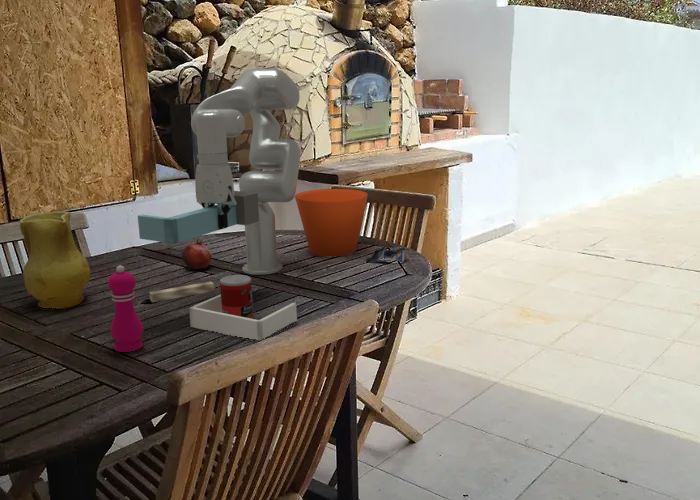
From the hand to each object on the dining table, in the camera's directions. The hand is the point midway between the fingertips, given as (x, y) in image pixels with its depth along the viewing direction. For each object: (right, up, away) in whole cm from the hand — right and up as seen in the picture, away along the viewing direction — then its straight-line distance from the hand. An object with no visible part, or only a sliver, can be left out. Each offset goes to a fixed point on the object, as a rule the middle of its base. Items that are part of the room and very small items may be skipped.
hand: (218, 227), depth 189 cm
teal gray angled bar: (-4, -1, -1) cm, 4 cm away
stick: (-12, -19, +12) cm, 26 cm away
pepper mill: (-16, -29, -25) cm, 42 cm away
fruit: (-14, -12, +38) cm, 42 cm away
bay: (+9, -25, -12) cm, 29 cm away
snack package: (+47, -10, +42) cm, 64 cm away
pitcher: (-46, -21, +8) cm, 51 cm away
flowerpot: (+30, -7, +56) cm, 64 cm away
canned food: (+7, -24, -9) cm, 27 cm away
